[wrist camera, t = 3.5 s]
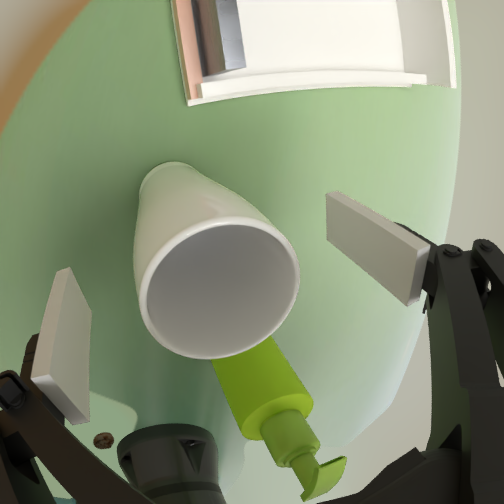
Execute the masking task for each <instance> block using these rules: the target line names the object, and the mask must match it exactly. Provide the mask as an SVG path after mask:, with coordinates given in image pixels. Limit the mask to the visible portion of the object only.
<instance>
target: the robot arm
mask: <svg viewBox="0 0 504 504" xmlns="http://www.w3.org/2000/svg"><path fill="white" fill-rule="evenodd" d="M326 223H327V240H328V241H329V242H330V243H331V244H333V245H334V246H335V247H336V248H338V249H339V250H340V251H341V252H343V253H344V254H345V255H346V256H347V257H349V258H350V259H351V260H352V261H354V262H355V263H356V264H357V265H358V266H360V267H361V268H362V269H363V270H364V271H366V272H367V273H368V274H369V275H370V276H372V277H373V278H374V279H375V280H376V281H378V282H379V283H380V284H381V285H382V286H383V287H385V288H386V289H387V290H388V291H389V292H390V293H392V294H393V295H394V296H395V297H396V298H397V299H399V300H400V301H401V302H402V303H403V304H404V305H405V306H407V307H408V306H409V305H411V304H413V303H415V302H417V301H419V299H420V294H421V290H422V289H423V290H424V291H426V292H427V296H426V300H425V304H424V308H423V312H422V313H423V314H425V310H426V309H427V316H428V326H429V338H430V354H431V376H432V418H431V434H430V437H429V441H428V443H427V447H426V451H422V452H419V451H418V449H417V448H416V447H415V448H413V449H412V450H411V451H409V452H408V453H406V454H405V455H403V456H402V457H400V458H399V459H397V460H396V461H394V462H392V463H391V464H389V465H388V466H387V467H386V468H384V469H383V471H381V473H379V475H378V476H376V478H374V479H373V480H372V481H371V482H370V483H369V484H368V485H367V486H366V487H365V488H364V489H363V490H361V491H360V492H358V493H356V494H352V495H349V496H345V497H341V498H337V499H333V500H329V501H325V502H321V503H317V504H504V387H501V386H500V383H499V377H498V372H497V366H496V362H497V364H498V367H499V369H500V371H501V374H502V376H503V378H504V254H503V253H502V251H501V250H500V249H499V248H498V247H497V246H496V245H495V244H494V243H492V242H490V241H489V240H486V239H477V240H475V241H474V243H473V247H472V250H470V251H462V250H461V249H460V248H459V247H456V246H454V245H450V244H442V245H439V246H437V245H436V244H434V243H432V242H431V241H429V240H428V239H426V238H424V237H423V236H421V235H420V234H419V235H418V233H416V232H415V231H412V230H411V229H410V228H408V227H406V226H405V225H402V224H399V223H396V222H392V221H390V220H389V219H387V218H385V217H384V216H382V215H380V214H379V213H377V212H375V211H373V210H372V209H370V208H368V207H366V206H365V205H363V204H361V203H359V202H357V201H356V200H354V199H352V198H350V197H348V196H346V195H345V194H343V193H341V192H339V191H335V192H331V193H327V194H326ZM489 281H490V283H491V290H489V289H488V283H489ZM91 319H92V311H91V309H90V307H89V305H88V303H87V301H86V299H85V297H84V295H83V293H82V291H81V289H80V287H79V285H78V283H77V281H76V279H75V276H74V274H73V272H72V270H71V267H68V268H65V269H62V270H59V271H57V272H56V275H55V278H54V281H53V285H52V288H51V292H50V295H49V299H48V302H47V306H46V309H45V313H44V317H43V321H42V325H41V329H40V333H38V334H35V335H32V337H31V339H30V340H29V342H28V344H27V346H26V350H25V356H24V359H23V364H22V368H21V373H20V377H19V376H18V374H17V373H16V372H14V371H13V370H7V371H4V372H2V373H0V407H1V408H2V409H3V410H1V411H0V504H226V501H225V499H224V497H223V495H222V492H221V489H220V487H219V484H218V449H217V446H216V443H215V440H214V438H213V436H212V434H211V433H210V432H209V431H207V430H205V429H203V428H201V427H198V426H194V425H189V424H161V425H154V426H150V427H146V428H142V429H139V430H137V431H134V432H132V433H130V434H128V435H127V436H125V437H124V438H123V439H122V440H121V441H120V443H119V444H118V446H117V455H118V461H119V465H120V467H121V469H122V471H123V472H124V474H125V476H126V478H127V480H128V481H129V483H130V484H129V483H128V482H126V481H125V480H124V479H123V478H121V477H120V476H119V475H118V474H116V473H115V472H114V471H113V470H112V469H110V468H109V467H108V466H107V465H106V464H104V463H103V462H102V461H101V460H100V459H99V458H98V457H96V456H95V455H94V454H93V453H92V452H91V451H90V450H89V449H87V447H85V446H84V445H83V444H82V443H81V442H80V441H79V440H78V439H77V438H76V437H75V436H74V435H73V434H72V433H71V432H70V431H69V430H68V429H67V428H66V427H65V426H64V421H65V420H64V419H65V418H66V419H67V420H68V421H69V422H70V423H71V424H72V425H76V424H82V423H87V422H90V413H89V412H90V411H89V357H90V334H91ZM495 360H496V361H495ZM36 456H37V457H38V458H39V459H40V461H41V462H42V463H43V464H44V465H45V467H46V468H47V469H48V470H49V471H50V473H51V474H52V475H53V476H54V477H55V478H56V480H58V482H59V483H60V484H61V485H62V486H63V487H64V488H65V489H66V491H67V492H68V493H69V494H70V495H71V496H72V497H73V498H71V499H64V498H57V497H53V496H52V494H51V492H50V490H49V488H48V486H47V484H46V482H45V480H44V478H43V476H42V474H41V472H40V470H39V467H38V465H37V463H36V461H35V459H34V457H36Z"/></svg>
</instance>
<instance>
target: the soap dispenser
mask: <svg viewBox="0 0 504 504" xmlns="http://www.w3.org/2000/svg"><path fill="white" fill-rule="evenodd" d="M210 360H211V362H212V365H213V367H214V370H215V372H216V375H217V377H218V379H219V382H220V384H221V387H222V389H223V392H224V394H225V396H226V399H227V401H228V403H229V406H230V408H231V410H232V413H233V415H234V417H235V420H236V422H237V424H238V426H239V429H240V431H241V433H242V435H243V436H244V437H245V438H247V439H250V440H257V441H258V440H264V441H265V444H266V446H267V448H268V450H269V452H270V453H271V455H272V457H273V459H274V461H275V463H276V465H277V466H279V467H288V468H291V467H292V469H293V470H294V472H295V474H296V476H297V477H298V479H299V481H300V483H301V485H302V486H303V488H304V490H305V491H304V492H303V493H302V494H301V495H300V496H301V499H302V500H303V502H305V501H308V500H310V499H313V498H315V497H317V496H320V495H322V494H324V493H327V492H328V491H329V490H331V489H332V488H333V487H334V486H335V485H336V484H337V483H338V481H339V480H340V478H341V476H342V474H343V472H344V469H345V465H346V460H347V457H345V456H340V457H338V458H335V459H333V460H331V461H328V462H326V463H324V464H321V465H319V464H318V462H317V461H316V459H315V457H314V456H315V454H316V452H317V451H318V450H319V448H320V442H319V440H318V439H317V437H316V436H315V434H314V432H313V431H312V429H311V428H310V426H309V424H308V423H307V421H306V420H305V419H306V418H307V417H308V415H309V414H310V412H311V411H312V408H313V399H312V398H311V396H310V395H309V393H308V392H307V390H306V389H305V387H304V386H303V384H302V382H301V381H300V379H299V378H298V376H297V375H296V373H295V372H294V370H293V369H292V367H291V366H290V364H289V363H288V361H287V360H286V358H285V357H284V355H283V354H282V352H281V351H280V349H279V347H278V346H277V344H276V343H275V341H274V340H273V338H272V337H271V335H270V336H269V337H268V338H266V339H265V340H264V341H262V342H261V343H259V344H258V345H256V346H254V347H252V348H250V349H249V350H246V351H244V352H242V353H239V354H236V355H233V356H229V357H225V358H219V359H210Z"/></svg>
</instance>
